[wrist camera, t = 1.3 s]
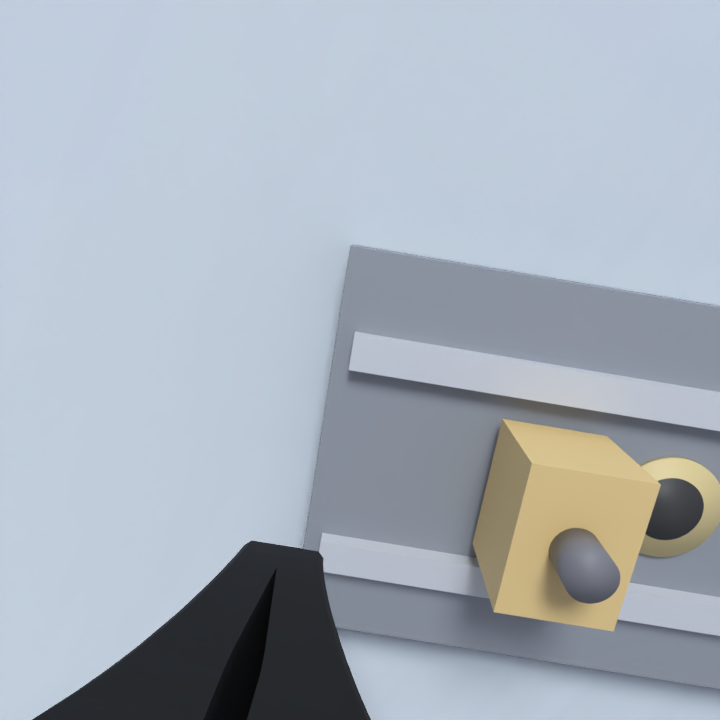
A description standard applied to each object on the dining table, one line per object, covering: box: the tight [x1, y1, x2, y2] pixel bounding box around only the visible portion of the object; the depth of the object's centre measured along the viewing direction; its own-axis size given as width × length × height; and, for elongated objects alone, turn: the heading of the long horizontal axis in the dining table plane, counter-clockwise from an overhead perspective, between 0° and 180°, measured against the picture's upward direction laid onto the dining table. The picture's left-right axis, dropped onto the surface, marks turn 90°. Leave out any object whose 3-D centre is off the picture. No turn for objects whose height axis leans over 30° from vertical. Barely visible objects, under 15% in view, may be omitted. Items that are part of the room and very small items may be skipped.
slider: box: [473, 419, 661, 632], centre depth 14 cm, size 3×4×4 cm
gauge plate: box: [303, 245, 720, 689], centre depth 15 cm, size 19×12×6 cm, turn 81°
